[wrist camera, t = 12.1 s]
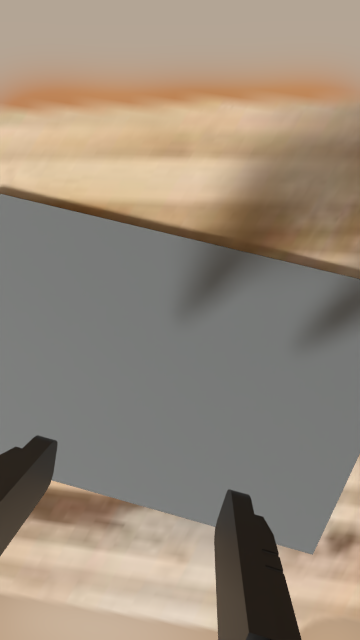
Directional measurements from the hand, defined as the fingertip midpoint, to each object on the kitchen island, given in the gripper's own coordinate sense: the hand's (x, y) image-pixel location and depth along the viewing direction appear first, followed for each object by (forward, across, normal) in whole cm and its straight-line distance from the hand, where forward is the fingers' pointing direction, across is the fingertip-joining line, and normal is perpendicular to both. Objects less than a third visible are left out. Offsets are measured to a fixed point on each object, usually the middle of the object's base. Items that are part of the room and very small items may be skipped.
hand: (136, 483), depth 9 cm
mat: (+8, 0, 0) cm, 8 cm away
